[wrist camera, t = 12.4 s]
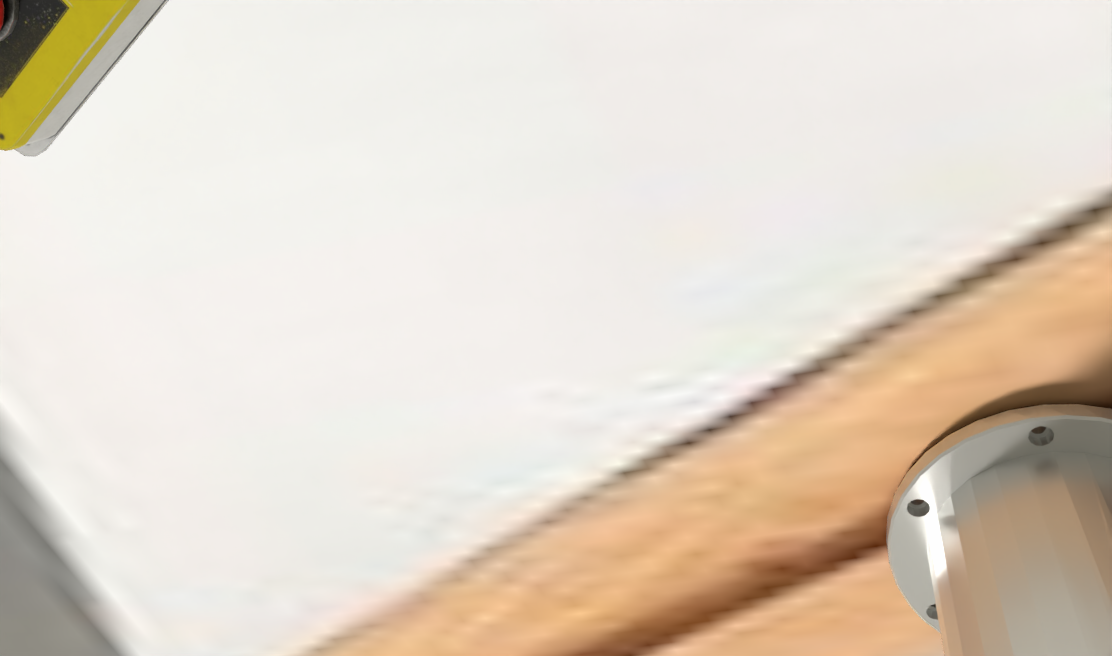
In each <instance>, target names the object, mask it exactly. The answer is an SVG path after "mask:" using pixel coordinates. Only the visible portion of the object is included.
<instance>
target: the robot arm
mask: <svg viewBox="0 0 1112 656" xmlns="http://www.w3.org/2000/svg"><path fill="white" fill-rule="evenodd" d="M1039 426H1040V427H1039ZM1036 427H1037V428H1036ZM886 542H887V549H888V557H889V564H890V567H891V570H892V573H893V576H894V579H895V582H896V585H897V587H898V588H899V590H900V591H901V593H902V595H903V596H904V598H905V599H906V601H907V603H908V604H909V606H910V607H911V608H912V609H913V610H914V611H915V612H916V613H917V614H918V615H919V617H920V618H921V619H922V620H923V621H925V622H926V623H927V624H928V625H930V626H931V627H933V628H934V629H935V630H937V631H938V632H939V633H941V639H942V645H943V651H944V656H1112V409H1111V408H1103V407H1096V406H1088V405H1081V404H1053V405H1038V406H1032V407H1026V408H1020V409H1014V410H1008V411H1005V412H1002V413H999V414H996V415H993V416H990V417H987V418H983V419H980V420H977V421H975V422H973V423H971V424H969V425H967V426H965V427H963V428H961V429H960V430H958V431H956V432H954V433H952V434H950V435H948V436H947V437H945V438H944V439H943V440H941V441H940V442H939V443H937V444H936V445H935V446H933V447H932V448H931V449H929V450H928V451H927V452H925V454H924V455H923V456H922V457H921V458H920V459H919V460H918V461H917V462H916V463H915V464H914V465H913V467H912V468H911V469H910V470H909V471H908V472H907V474H906V475H905V477H904V479H903V480H902V482H901V484H900V485H899V487H898V489H897V491H896V492H895V494H894V497H893V500H892V503H891V507H890V510H889V513H888V516H887V533H886Z"/></svg>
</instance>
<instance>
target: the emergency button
mask: <svg viewBox="0 0 1112 656" xmlns="http://www.w3.org/2000/svg"><path fill="white" fill-rule="evenodd" d="M168 1H169V0H0V150H5V151H7V150H12V149H15V150H16V151H18V152H19V153H21V154H23V155H24V156H38V155H39V154H41V153H42V152H44V151H46V150H47V148H48V147H49V146H50V145H51V144H52V142H53V141H54V140H55V139H56V137H57V136H58V135H59V134H60V133H61V131H62V130H63V129H64V128H65V126H66V125H67V124H68V123H69V122H70V120H71V119H72V118H73V117H74V115H75V114H76V113H77V112H78V111H79V109H80V108H81V107H82V106H83V104H84V103H85V102H86V101H87V100H88V98H89V97H90V96H91V95H92V93H93V92H94V91H95V90H96V89H97V87H98V86H99V85H100V84H101V82H102V81H103V80H104V79H105V78H106V76H107V75H108V74H109V73H110V71H111V70H112V69H113V68H114V67H115V65H116V64H117V63H118V62H119V60H120V59H121V58H122V57H123V56H124V54H125V53H126V52H127V51H128V49H129V48H130V47H131V46H132V45H133V43H134V42H135V41H136V40H137V38H138V37H139V36H140V35H141V34H142V32H143V31H144V30H145V29H146V27H147V26H148V25H149V24H150V23H151V21H152V20H153V19H154V18H155V16H156V15H157V14H158V13H159V12H160V10H161V9H162V8H163V7H164V5H165V4H166V3H167V2H168Z"/></svg>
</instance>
